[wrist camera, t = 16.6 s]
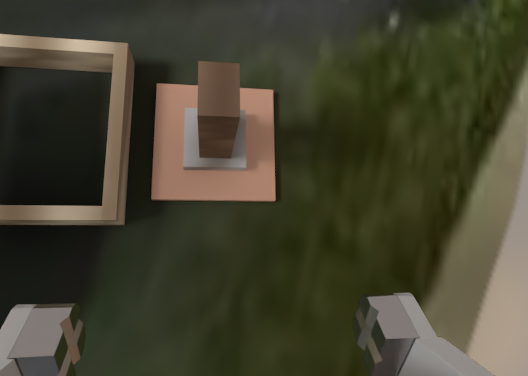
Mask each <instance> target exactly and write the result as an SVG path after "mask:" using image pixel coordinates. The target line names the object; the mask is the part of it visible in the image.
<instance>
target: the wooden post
mask: <svg viewBox="0 0 528 376" xmlns="http://www.w3.org/2000/svg"><path fill="white" fill-rule="evenodd" d="M183 168H184V170H218V171H245V170H246V110H240V64H239V63H223V62H207V61H198V105H197V108H185V117H184V155H183Z"/></svg>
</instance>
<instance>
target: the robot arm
mask: <svg viewBox="0 0 528 376" xmlns="http://www.w3.org/2000/svg"><path fill="white" fill-rule="evenodd" d="M358 304H359V306H360V309H359V310H358V311H356V312H355V314H354V318H353V332H354V337H355V340H356V342H357V344H358V345H359V346H360V347H361V348H362V349H363V350H364V353H363V356H362V359H363V361H364V364H365V367H366V369H367V372H368V375H369V376H495V375H493V374H492V373H490V372H489V371H488V370H486V369H485V368H484V367H482V366H481V365H479V364H478V363H477V362H475V361H474V360H473V359H471V358H470V357H469V356H467V355H466V354H465V353H463V352H462V351H460V350H459V349H458V348H456V347H455V346H454V345H452V344H451V343H449V342H448V341H447V340H445V339H444V338H443V337H437V335H436V334H435V332H434V330H433V328H432V327H431V325H430V323H429V322H428V320H427V318H426V317H425V315H424V313H423V311H422V310H421V308H420V306H419V305H418V303H417V301H416V300H415V298H414V296H413V295H412V294H411V293H380V294H363V295H362V296H361V297H360V299H359V302H358ZM80 313H81V312H80V308H79V305H78V304H19V305H16V306H15V307H14V308H13V309H12V310H11V311H10V313H9V315H8V316H7V318H6V320H5V322H4V324H3V326H2V327H1V329H0V376H75V375H76V373H75V369H74V366H73V365H74V364H75V363H76V362H77V361H78V360H79V359H80V358H81V355H82V352H83V349H84V342H85V328H84V323H83V322H81V321H80V320H78V319H79V316H80Z"/></svg>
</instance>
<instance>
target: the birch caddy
mask: <svg viewBox="0 0 528 376" xmlns="http://www.w3.org/2000/svg"><path fill="white" fill-rule="evenodd" d="M0 66H8V67H25V68H42V69H58V70H75V71H92V72H109V73H112V83H111V96H110V109H109V122H108V135H107V148H106V161H105V174H104V187H103V200H102V206H44V205H0V225H125V209H126V193H127V178H128V162H129V146H130V130H131V114H132V99H133V83H134V67H135V63H134V60H133V57H132V54H131V51H130V48H129V45H128V43H118V42H104V41H90V40H76V39H62V38H48V37H34V36H20V35H6V34H0Z"/></svg>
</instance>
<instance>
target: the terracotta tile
mask: <svg viewBox="0 0 528 376" xmlns="http://www.w3.org/2000/svg"><path fill="white" fill-rule="evenodd" d="M197 105H198V86H196V85H178V84H161V83H157V90H156V111H155V131H154V152H153V172H152V193H151V200H159V201H243V202H275V201H276V198H275V154H274V109H273V90H267V89H249V88H240V110H246V170H245V171H218V170H184V168H183V155H184V117H185V108H197Z"/></svg>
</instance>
